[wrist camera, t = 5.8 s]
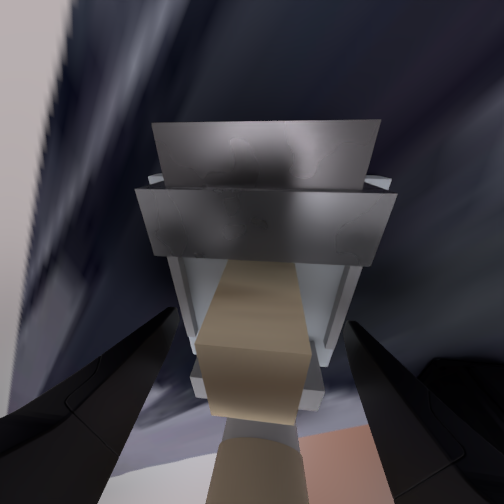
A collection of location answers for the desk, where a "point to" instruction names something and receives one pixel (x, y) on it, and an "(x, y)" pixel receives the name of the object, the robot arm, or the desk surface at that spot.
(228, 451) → the coffee cup
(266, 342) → the maple block
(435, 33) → the desk surface
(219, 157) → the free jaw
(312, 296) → the vise bed
